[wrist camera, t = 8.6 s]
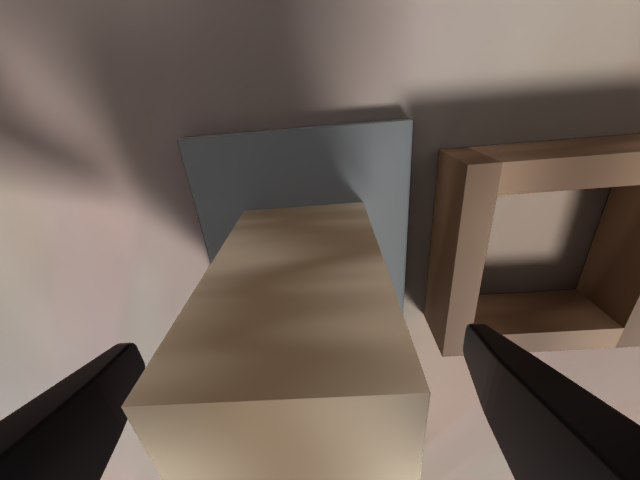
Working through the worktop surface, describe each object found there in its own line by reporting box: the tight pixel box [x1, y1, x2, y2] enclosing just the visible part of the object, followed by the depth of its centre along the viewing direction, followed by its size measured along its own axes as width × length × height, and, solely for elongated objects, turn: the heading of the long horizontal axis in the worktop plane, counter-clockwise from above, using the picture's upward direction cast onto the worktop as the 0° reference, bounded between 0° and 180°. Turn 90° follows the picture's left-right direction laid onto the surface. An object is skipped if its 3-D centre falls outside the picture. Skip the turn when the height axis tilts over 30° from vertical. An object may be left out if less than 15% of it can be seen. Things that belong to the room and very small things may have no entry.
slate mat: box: [177, 118, 413, 313], centre depth 13 cm, size 8×10×1 cm
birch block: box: [121, 202, 430, 480], centre depth 9 cm, size 4×4×8 cm
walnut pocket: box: [424, 133, 640, 357], centre depth 12 cm, size 8×8×2 cm
